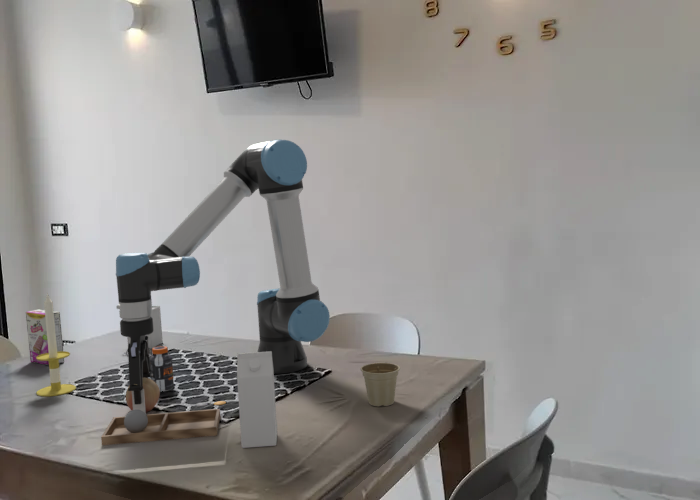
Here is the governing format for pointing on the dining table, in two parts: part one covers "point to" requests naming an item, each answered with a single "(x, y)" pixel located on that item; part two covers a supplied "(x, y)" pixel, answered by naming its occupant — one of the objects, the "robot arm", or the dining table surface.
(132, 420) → the grey ball
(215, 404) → the tile
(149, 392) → the fruit
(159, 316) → the soap bottle
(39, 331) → the candy bar box
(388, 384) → the flower pot
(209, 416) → the divided wooden tray
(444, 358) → the dining table surface
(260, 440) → the milk carton
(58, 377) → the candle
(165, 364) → the pill bottle
